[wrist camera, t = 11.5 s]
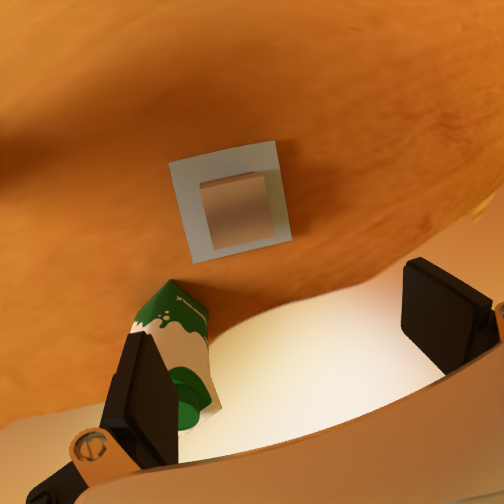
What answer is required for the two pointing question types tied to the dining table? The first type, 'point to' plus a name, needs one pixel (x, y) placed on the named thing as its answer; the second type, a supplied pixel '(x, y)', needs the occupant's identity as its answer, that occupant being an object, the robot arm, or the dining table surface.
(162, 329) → the soya milk
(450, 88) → the dining table surface
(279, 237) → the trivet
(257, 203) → the walnut block
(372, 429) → the robot arm
